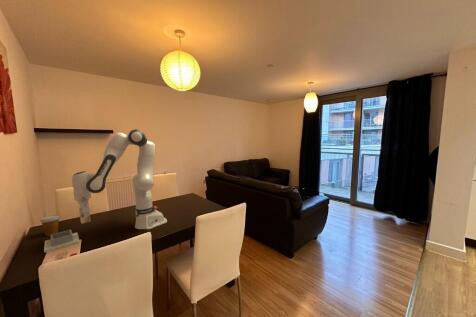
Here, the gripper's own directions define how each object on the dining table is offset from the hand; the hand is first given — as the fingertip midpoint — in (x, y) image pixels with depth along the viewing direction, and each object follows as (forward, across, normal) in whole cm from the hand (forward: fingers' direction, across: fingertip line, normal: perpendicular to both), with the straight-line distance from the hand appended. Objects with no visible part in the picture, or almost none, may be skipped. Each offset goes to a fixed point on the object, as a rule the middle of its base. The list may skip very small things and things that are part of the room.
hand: (85, 216), depth 132 cm
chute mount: (+14, 0, +13) cm, 19 cm away
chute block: (+4, 0, 0) cm, 4 cm away
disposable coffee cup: (+14, +22, +18) cm, 32 cm away
